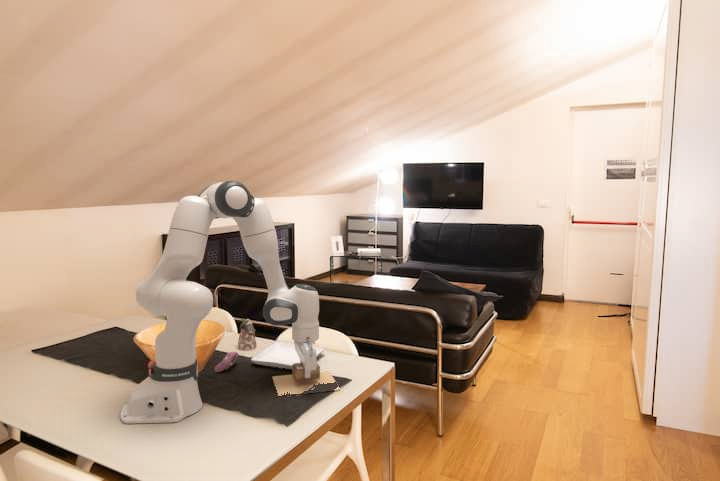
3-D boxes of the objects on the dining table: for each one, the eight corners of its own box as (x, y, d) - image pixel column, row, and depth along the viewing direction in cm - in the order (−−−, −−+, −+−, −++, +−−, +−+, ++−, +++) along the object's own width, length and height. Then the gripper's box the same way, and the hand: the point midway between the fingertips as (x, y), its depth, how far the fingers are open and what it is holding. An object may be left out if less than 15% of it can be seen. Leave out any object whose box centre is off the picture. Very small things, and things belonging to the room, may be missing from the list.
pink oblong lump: (223, 377, 181) (231, 361, 180) (212, 371, 181) (220, 354, 180) (235, 367, 191) (242, 351, 189) (224, 361, 191) (232, 345, 190)
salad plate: (303, 375, 181) (303, 366, 180) (249, 367, 187) (249, 358, 187) (325, 355, 201) (325, 347, 200) (276, 349, 207) (276, 340, 207)
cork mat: (278, 397, 162) (278, 395, 162) (272, 377, 178) (272, 376, 178) (340, 390, 168) (340, 389, 168) (329, 372, 183) (329, 371, 183)
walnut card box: (319, 379, 172) (319, 365, 171) (296, 382, 169) (296, 368, 168) (314, 373, 177) (315, 360, 176) (292, 377, 173) (292, 363, 173)
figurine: (247, 352, 202) (247, 322, 201) (234, 348, 206) (233, 319, 204) (260, 347, 208) (259, 318, 207) (246, 343, 212) (246, 315, 211)
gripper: (321, 342, 162) (321, 384, 163) (309, 324, 181) (308, 362, 183) (301, 344, 160) (301, 386, 162) (291, 325, 179) (291, 363, 181)
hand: (305, 373), depth 172 cm, fingers closed on walnut card box, 5 cm apart
